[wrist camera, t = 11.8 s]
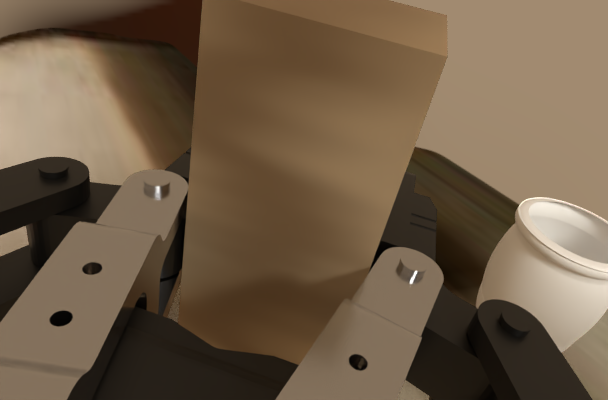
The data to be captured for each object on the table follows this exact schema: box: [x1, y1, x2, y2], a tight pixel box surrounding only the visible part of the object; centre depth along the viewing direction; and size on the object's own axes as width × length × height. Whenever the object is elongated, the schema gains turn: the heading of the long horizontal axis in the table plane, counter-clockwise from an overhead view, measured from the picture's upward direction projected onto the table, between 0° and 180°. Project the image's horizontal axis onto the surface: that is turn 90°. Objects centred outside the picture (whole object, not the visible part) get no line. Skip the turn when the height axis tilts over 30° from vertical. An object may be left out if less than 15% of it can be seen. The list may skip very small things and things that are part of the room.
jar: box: [476, 197, 608, 353], centre depth 45 cm, size 11×10×15 cm
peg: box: [178, 0, 447, 365], centre depth 12 cm, size 4×4×14 cm
